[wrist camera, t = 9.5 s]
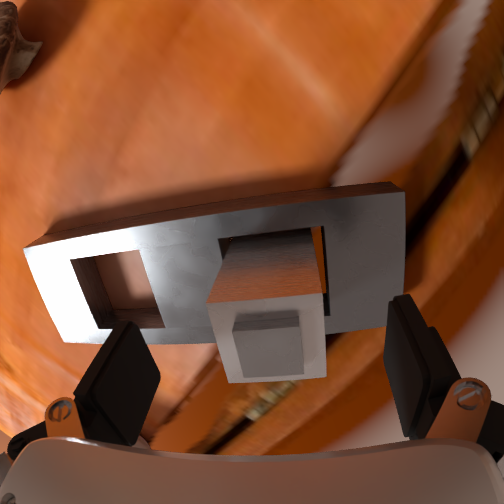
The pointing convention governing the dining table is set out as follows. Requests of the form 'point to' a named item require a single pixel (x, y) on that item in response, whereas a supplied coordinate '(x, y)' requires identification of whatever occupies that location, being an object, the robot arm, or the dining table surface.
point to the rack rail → (213, 253)
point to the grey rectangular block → (269, 308)
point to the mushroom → (13, 46)
